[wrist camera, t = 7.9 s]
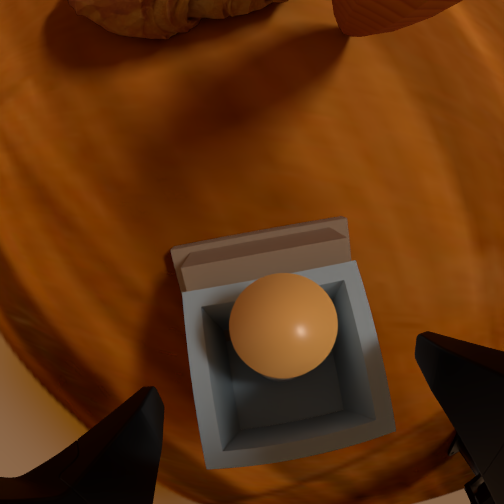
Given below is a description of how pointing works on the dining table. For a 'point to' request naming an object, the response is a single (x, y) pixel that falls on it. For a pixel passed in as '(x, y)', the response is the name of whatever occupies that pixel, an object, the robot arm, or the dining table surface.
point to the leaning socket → (253, 383)
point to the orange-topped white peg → (283, 326)
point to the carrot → (384, 14)
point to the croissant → (160, 14)
